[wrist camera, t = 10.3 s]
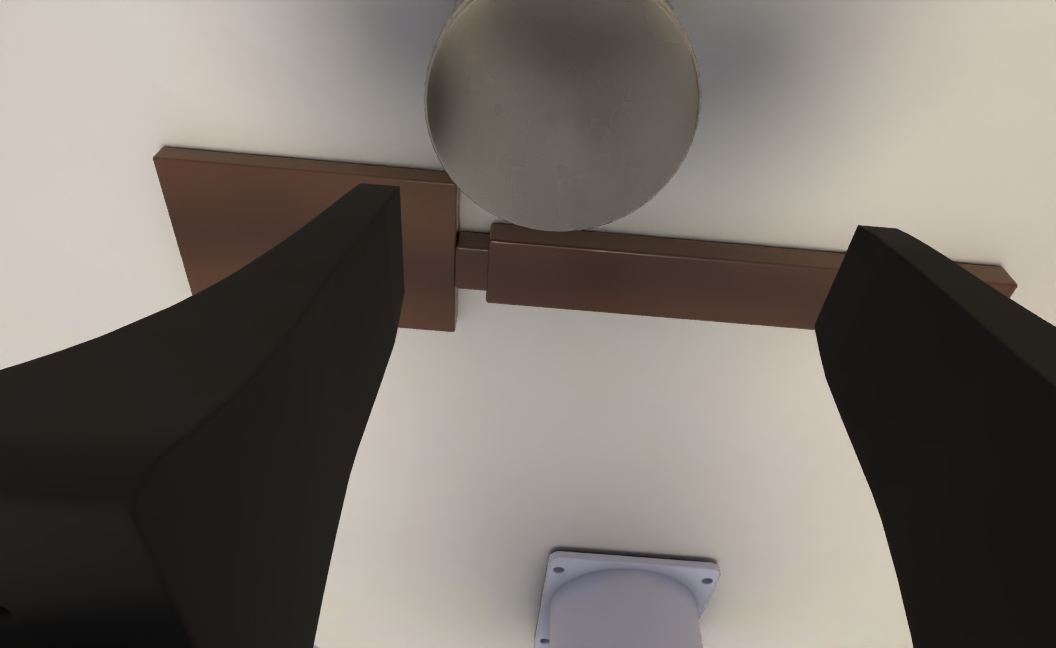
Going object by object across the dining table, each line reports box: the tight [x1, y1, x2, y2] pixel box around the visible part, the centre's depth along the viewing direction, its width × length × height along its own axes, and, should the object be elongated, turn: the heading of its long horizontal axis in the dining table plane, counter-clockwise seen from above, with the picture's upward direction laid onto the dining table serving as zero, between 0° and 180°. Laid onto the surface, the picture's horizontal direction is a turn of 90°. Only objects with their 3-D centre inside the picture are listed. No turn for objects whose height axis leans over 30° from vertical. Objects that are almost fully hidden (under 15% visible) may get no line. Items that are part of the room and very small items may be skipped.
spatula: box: [153, 147, 1017, 332], centre depth 22 cm, size 6×26×1 cm, turn 86°
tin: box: [424, 0, 701, 232], centre depth 15 cm, size 5×5×6 cm
